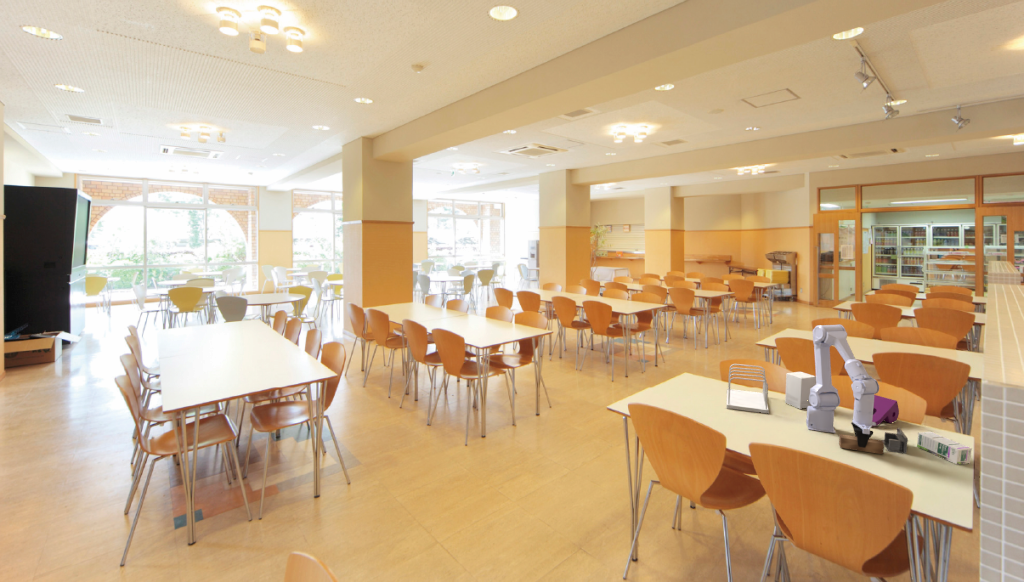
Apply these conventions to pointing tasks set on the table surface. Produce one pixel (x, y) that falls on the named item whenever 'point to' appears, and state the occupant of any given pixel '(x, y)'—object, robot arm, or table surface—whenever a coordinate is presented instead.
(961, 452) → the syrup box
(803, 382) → the supplement box
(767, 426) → the table surface
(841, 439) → the rail
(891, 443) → the bracket
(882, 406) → the mounting bracket
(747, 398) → the file sorter
